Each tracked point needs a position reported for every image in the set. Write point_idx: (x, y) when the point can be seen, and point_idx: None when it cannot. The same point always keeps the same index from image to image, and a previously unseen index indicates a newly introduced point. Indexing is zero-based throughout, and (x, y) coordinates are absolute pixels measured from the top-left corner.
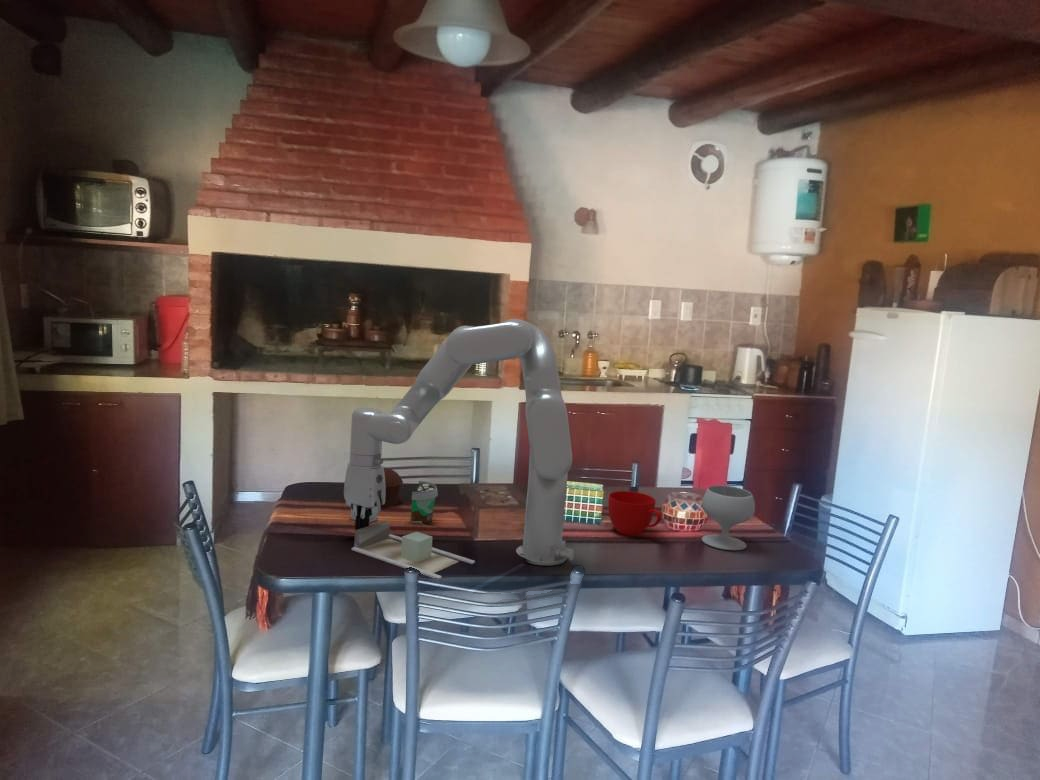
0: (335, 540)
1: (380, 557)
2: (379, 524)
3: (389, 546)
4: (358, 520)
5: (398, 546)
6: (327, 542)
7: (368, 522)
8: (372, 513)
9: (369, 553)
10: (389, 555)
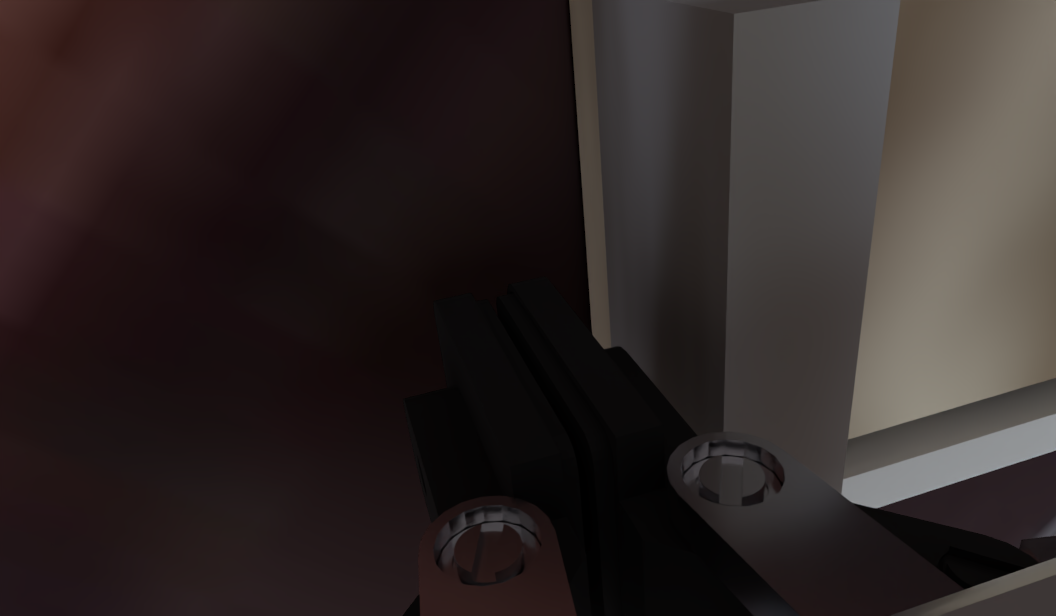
0: (150, 495)
1: (1014, 456)
2: (802, 230)
3: (898, 178)
4: (593, 613)
5: (980, 81)
6: (171, 591)
7: (666, 412)
8: (899, 531)
9: (890, 494)
10: (1027, 337)
